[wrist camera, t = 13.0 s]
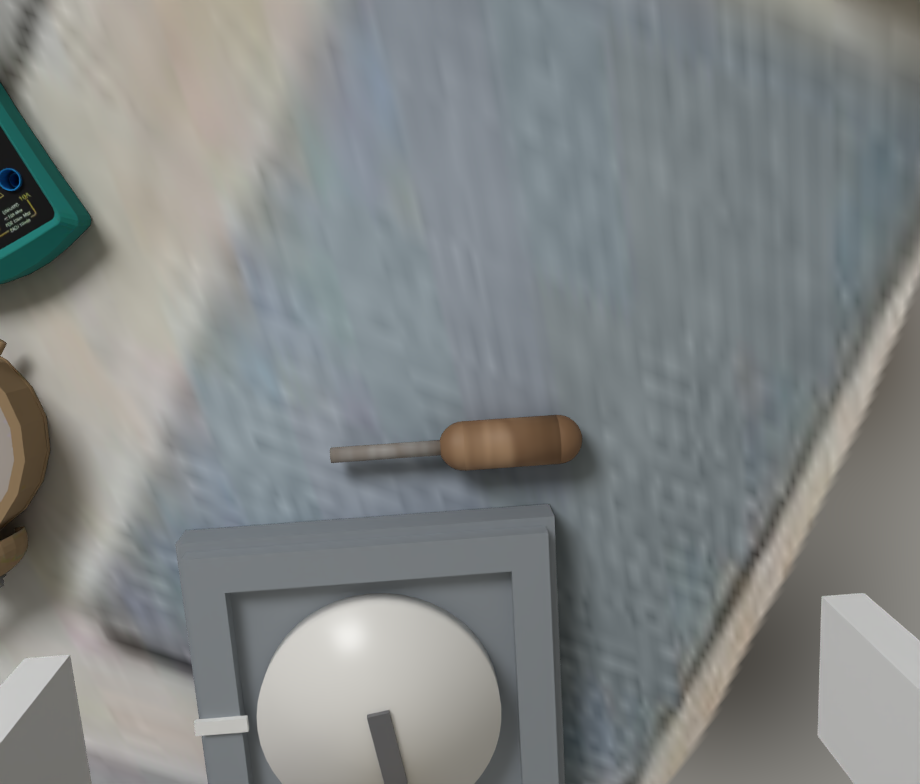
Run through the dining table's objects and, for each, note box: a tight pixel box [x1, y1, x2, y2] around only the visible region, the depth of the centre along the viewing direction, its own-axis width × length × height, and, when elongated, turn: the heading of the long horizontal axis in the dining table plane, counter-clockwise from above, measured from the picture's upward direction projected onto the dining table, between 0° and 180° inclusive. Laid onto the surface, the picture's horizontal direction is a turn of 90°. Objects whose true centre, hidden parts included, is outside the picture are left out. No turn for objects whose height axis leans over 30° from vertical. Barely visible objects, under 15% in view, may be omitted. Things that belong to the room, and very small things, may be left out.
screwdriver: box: [330, 415, 582, 471], centre depth 46 cm, size 13×3×3 cm, turn 93°
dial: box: [257, 593, 501, 784], centre depth 43 cm, size 13×13×10 cm
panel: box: [175, 504, 565, 784], centre depth 48 cm, size 20×20×3 cm
